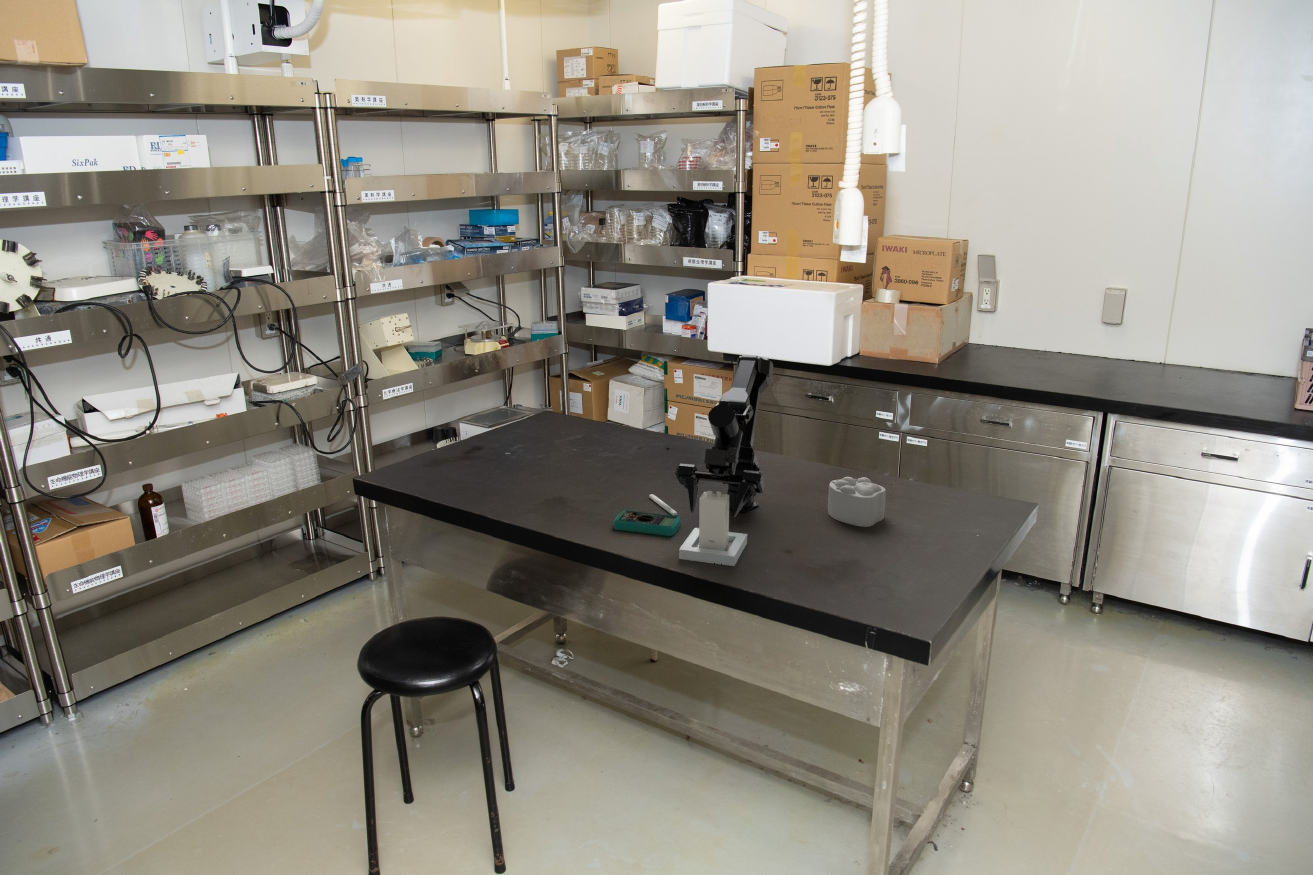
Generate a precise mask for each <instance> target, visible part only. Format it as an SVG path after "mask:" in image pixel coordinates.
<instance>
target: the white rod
mask: <svg viewBox="0 0 1313 875" xmlns="http://www.w3.org/2000/svg"><path fill="white" fill-rule="evenodd" d="M649 498H650V500H652V501H653V502H655V503H656V504H658V505H659V506H660V507H661V508H663V509H664V510H665V511H667V512H668V513H669V515H674V516H678V512H677V511H676V510H675V509H673V508H672V507H671V506H669V505H668V504H667V503H665V501H663V500H661V499H660V498H659V497H658V496H656V495H655V494H653V493H652V494H649Z"/></svg>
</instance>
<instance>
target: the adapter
mask: <svg viewBox="0 0 1313 875" xmlns="http://www.w3.org/2000/svg"><path fill="white" fill-rule="evenodd" d="M698 500H699V504H698V506H699V510H698V512H699V517H698V520H699V524H698V525H699V526H698V528H699V548H704V549H712V550H720V551H725V549H726V547H727V546H728V540H729V532H730V528H729V526H730V508H729V494H727V493H722V491H720V490H719V491H718V490H717V491H716V492H713V490H707V491H704V492H702V494H701V496H700V497H699V499H698Z"/></svg>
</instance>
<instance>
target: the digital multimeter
mask: <svg viewBox="0 0 1313 875" xmlns="http://www.w3.org/2000/svg"><path fill="white" fill-rule="evenodd" d="M681 522H682V519H681V517H680V516H679V515H675V516H674V515H672V514H661V513H653V512H651V513H650V512H644V511H635V510H627V509H626V510H623V511H621V512H620V513H619V514H617V515H616V517H615V518H614V520H613V529H614V530H616V531H625V532H634V533H640V534H641V533H643V534H650V535H651V534H652V535H656V536H657V535H658V536H665V537H673V536H674V535H675V534H676V533H677V532H678V530H679V529H680V527H681V524H682V523H681Z"/></svg>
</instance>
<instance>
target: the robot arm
mask: <svg viewBox="0 0 1313 875" xmlns="http://www.w3.org/2000/svg"><path fill="white" fill-rule="evenodd" d="M735 367H736V368H735V369H736V370H735V375H734V377H733V381H732V383H731V386H730V389H729V390H728V391H726V392H723V393H722V395H721V397H720V398H719V401H718V402H717V403H716V404H715V406H713V407H712V408H711V409H710V410H709V411H708V414H707V418H708V422H709V424H710V425H709V426H710V428H711V431H712V433H713V436H715V439H714V442H713V446H711V447H712V448H705V451H704V457H703V458H704V459H703V464H704V466H705V469H706V470H708V471H703V470H702V471H699V470H698V468H697V466H696V464H689V463H679V464H678V465H677V467H676V470H675V472H674V474H675V477H676V478H677V480H678V482H679V484H680V485H683V487H684V488H685V489H686V490H687V493H688V500H689V509H690V512H691V513H694V511H695V507H696V503H697V497H698V493H699V492H698V491H699V487H698V485H699V482H700V481H704V482H705V481H707V482H713V483H714V482H715V483H722V484H724V485H727V486H728V487H727V491H726V492H727V493H726V494H729V510H730V509H731V510H732V518H735V519H736V517H737V515H738V514H739V513H745V512H748V511H750V510H753V509H755V508H757V507H759V506H760V505H759V503H758V502H755V497H757V496H758V495H757V494H763V493H764V491H765V490H764V489H765V479H764V476H763V473H762V472H761V469H760V466H759V462H758V458H757V455H756V453H755V451H754V449H753V447H754V446H753V445H754V441H755V440H754V439H755V433H756V426H757V421H758V414H759V408H760V402H761V401H760V400H761V394H763V392H764V391H766V390H767V388H768V387H769V385H770V379H771V378H772V377H773V374H774V363H773V361H771V360H769V358H766V357H765V358H762V357H761V356H758V355H749V354H742V355H739V357H738V358H737V360H736V366H735Z"/></svg>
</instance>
